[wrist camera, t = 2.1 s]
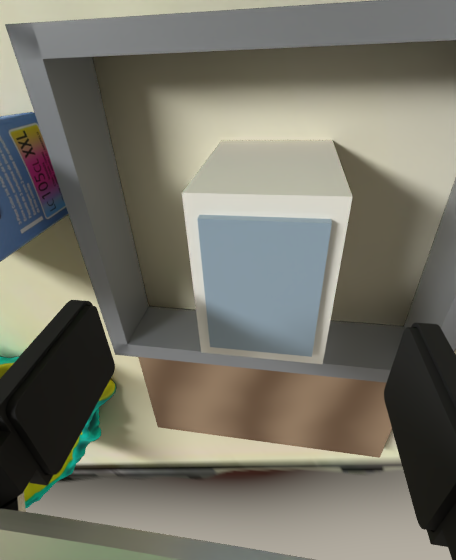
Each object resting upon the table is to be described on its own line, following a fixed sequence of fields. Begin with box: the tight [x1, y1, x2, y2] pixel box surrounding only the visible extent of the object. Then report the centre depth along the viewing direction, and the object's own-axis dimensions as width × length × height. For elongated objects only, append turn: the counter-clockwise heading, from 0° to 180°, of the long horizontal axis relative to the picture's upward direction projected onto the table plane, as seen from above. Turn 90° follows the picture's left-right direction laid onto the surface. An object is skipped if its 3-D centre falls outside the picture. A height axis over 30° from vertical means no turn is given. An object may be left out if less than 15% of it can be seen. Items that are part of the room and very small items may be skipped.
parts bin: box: [5, 0, 456, 383], centre depth 16 cm, size 18×16×4 cm
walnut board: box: [139, 357, 392, 457], centre depth 25 cm, size 18×9×1 cm, turn 92°
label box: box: [182, 140, 353, 364], centre depth 15 cm, size 5×7×7 cm
